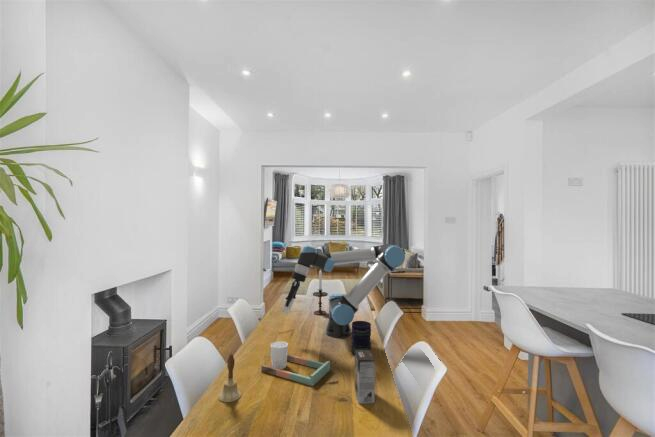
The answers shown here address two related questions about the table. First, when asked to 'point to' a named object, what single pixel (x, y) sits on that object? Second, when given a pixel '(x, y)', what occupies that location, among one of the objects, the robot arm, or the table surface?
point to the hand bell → (230, 384)
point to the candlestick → (320, 294)
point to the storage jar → (361, 336)
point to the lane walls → (273, 370)
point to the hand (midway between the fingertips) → (286, 311)
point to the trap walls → (287, 374)
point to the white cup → (279, 354)
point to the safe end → (316, 376)
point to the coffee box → (364, 376)
